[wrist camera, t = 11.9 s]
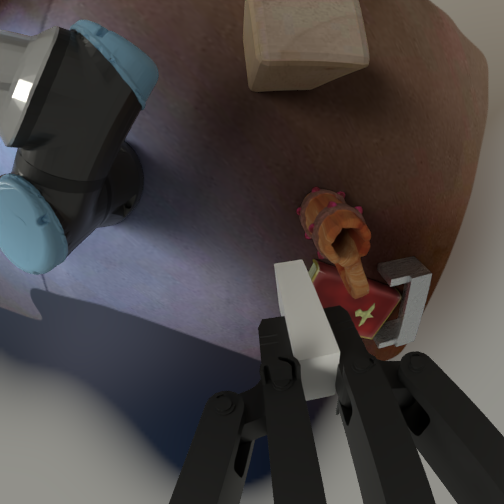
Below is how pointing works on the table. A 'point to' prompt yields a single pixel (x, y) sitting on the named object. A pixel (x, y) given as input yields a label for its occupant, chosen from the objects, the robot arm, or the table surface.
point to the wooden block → (302, 42)
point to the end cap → (404, 300)
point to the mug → (338, 235)
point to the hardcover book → (361, 309)
